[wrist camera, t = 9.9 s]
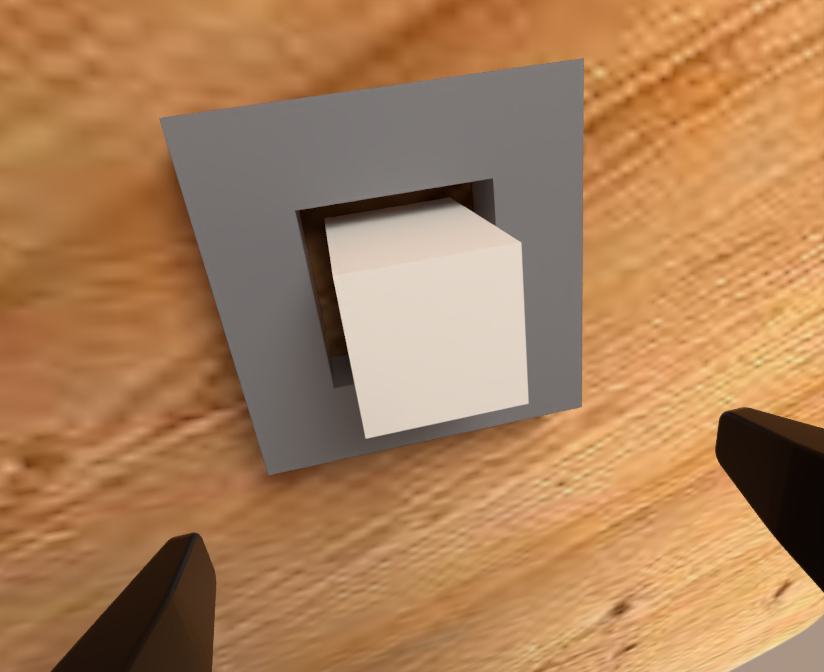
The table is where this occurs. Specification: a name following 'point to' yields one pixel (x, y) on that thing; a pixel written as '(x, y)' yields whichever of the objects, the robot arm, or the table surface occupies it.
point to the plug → (429, 313)
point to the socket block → (369, 178)
